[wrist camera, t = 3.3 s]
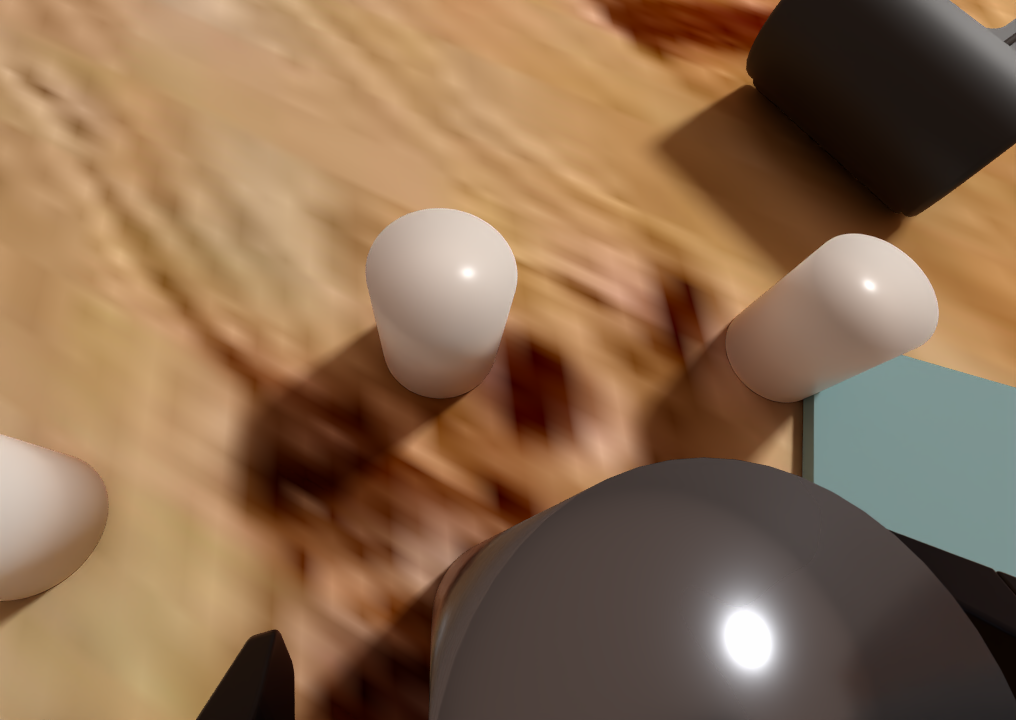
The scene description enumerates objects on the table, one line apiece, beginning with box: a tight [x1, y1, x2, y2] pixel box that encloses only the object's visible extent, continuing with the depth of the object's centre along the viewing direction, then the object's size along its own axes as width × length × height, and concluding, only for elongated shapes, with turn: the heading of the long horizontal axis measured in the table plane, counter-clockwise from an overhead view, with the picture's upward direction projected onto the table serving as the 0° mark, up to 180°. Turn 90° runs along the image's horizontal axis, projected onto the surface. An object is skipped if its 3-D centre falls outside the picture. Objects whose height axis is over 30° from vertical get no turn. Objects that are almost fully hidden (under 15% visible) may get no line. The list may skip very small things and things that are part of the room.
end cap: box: [746, 0, 1016, 217], centre depth 22 cm, size 10×7×7 cm
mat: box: [802, 355, 1016, 577], centre depth 17 cm, size 18×14×1 cm
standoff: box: [429, 458, 1016, 720], centre depth 9 cm, size 4×4×13 cm
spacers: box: [0, 208, 939, 601], centre depth 14 cm, size 14×29×5 cm, turn 105°
